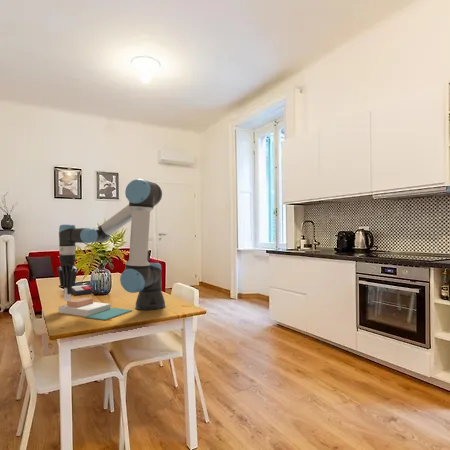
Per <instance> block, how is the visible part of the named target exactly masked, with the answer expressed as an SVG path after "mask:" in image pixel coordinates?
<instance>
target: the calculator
mask: <svg viewBox="0 0 450 450" xmlns="http://www.w3.org/2000/svg"><path fill="white" fill-rule="evenodd" d="M91 288H92V287H91V286H89V285H88V284H83V285H75V286H73V287H72V288H71V295H74V296H76V297H77V296H83V295H91V293H92V290H91Z"/></svg>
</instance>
